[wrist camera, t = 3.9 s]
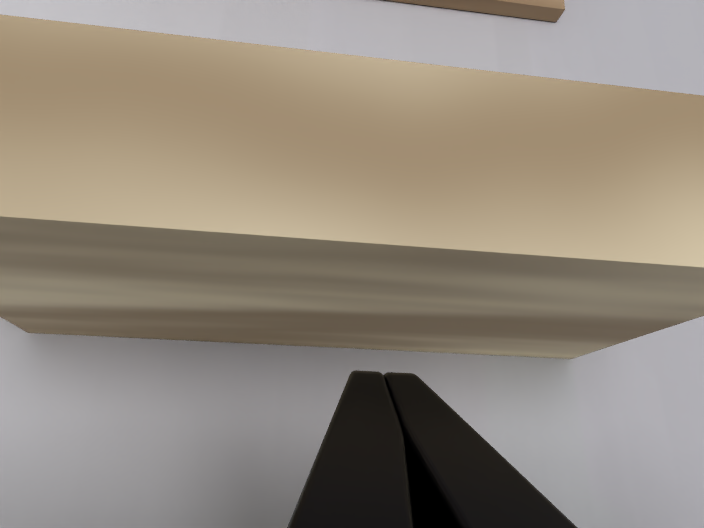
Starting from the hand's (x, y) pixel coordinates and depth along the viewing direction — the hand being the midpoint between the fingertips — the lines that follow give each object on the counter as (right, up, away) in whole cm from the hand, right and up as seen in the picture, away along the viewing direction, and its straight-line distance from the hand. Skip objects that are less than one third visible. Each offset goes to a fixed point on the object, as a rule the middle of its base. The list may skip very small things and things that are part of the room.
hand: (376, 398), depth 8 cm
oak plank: (-1, +1, +8) cm, 9 cm away
